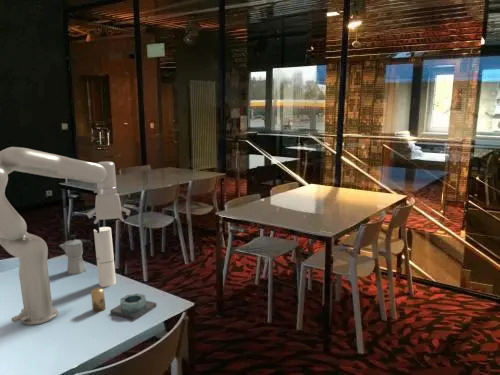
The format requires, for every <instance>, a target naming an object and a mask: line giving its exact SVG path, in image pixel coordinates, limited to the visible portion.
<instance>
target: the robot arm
mask: <svg viewBox="0 0 500 375" xmlns="http://www.w3.org/2000/svg"><path fill="white" fill-rule="evenodd" d="M14 171H15V172H21V173H28V174H31V175H32V174H33V175H38V176H43V177H50V178H58V179H69V180H77V181H82V182H85V183H93V184H96V188H95V189H93V193H94V194H95V193H96V196H95V203H94V204H95V208H94V209H93V210H90V211H88V212H87V213H86V215H87V217H88V219H89V220H90V221H91V222H92V223H93V224H94V229H95V231H97V233H99V231H100V230H99V228H100V222H99V221H101V220H113V219H114V220H115V219H119V220H120V231H121V232H124V229H125V222H126V220H127V219H128V218H129V216H130V214H131V210H130V209H128V208H125V207H123V206H122V204H121V198H120V195H119V193H117V192H118V189H117V179H116V178H117V177H116V166H115V162H113V161H99V162H89V161H85V160H80V159H76V158H71V157H68V156H63V155H59V154H55V153H49V152H45V151H41V150H36V149H32V148H27V147H19V146H10V147H7V148H5V149H2V150H0V246H1V247H2V248H3V249H4V250H5V251H6V252H7V253H8V254H10V255H11V256H13V257H15V258H16V259H19V266H18V277H19V278H18V279H19V282H20V283H19V284H20V290H21V291H20V292H21V298H22V305H23V308H22V309H21V310H20V313H18V315H15V316H13V317H11V322H12V323H13V324H15V323H16V322H18V321H20V322H21V324H23V325H28V326H29V325H30V326H33V325H40V324H44V323H47V322H50V321H51V320H53V319H55V318H56V317H57V316H58V314H59V313H58V312H59V311H58V308H56V307H54V306H53V300H52V298H53V297H52V291H51V284H50V283H51V282H50V275H49V268H48V267H49V265H48V257H49V256H48V254H49V248H48V245H47V242H46V241H45V240H44V239H43V238H42V237H40V236H38V235H35V234H32V233H30V232H28V231H27V229H28V227H27V226H28V225H27V223H26V221H25V219H24V218H23V216H21V215H20V214H19V212H18V211H17V210H16V209H15V208H14V206H12V204H11V203H10V202H9V200H8V198H7V197H6V193H5V192H6V187H7V185H8V181H9V176H8V175H9V174H11V173H13V172H14ZM122 212H125V215H124V216H123V214H122ZM94 214H95V217H93V215H94Z"/></svg>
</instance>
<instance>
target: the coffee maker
mask: <svg viewBox="0 0 500 375" xmlns="http://www.w3.org/2000/svg"><path fill="white" fill-rule="evenodd" d="M69 237H70V240H67V241H65V242H63V243H61V244H59V245H58V246H59V247H60V248H61V250H63V251H64V253H65V256H66V257H67V275H71V276H72V275H79V274H82V273H84V272H86V267H85V262H84V259H83V256H82V255H83V254H84V253H83V252H84V247H86V246H88V245H89V246H88V248H87V250H86V252H85V256H88V254H89V253H90V251H91V250H92V247H93V245H94V244H93V242H92V241H91V240H90V239H76V234H70V235H69Z"/></svg>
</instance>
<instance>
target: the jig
mask: <svg viewBox="0 0 500 375" xmlns="http://www.w3.org/2000/svg"><path fill="white" fill-rule="evenodd" d="M156 307H157V302H153V301H149V300H147V298H146V294H142V293H141V294H140V293H133V294H132V293H131V294H126V295H125V296H123V297H121V298H120V304H119V305H117V306H115V307H113V308H112V309H110V315H112V316H118V317H121V318H125V319H128V320H132V321H136V320H138V319H139V318H140V317H143V316H144V315H145V314H147V313H148V312H150V311H151V310H153V309H155V308H156Z"/></svg>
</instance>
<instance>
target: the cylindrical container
mask: <svg viewBox="0 0 500 375" xmlns="http://www.w3.org/2000/svg"><path fill="white" fill-rule="evenodd" d="M99 230H100V231H99V233H97V231H95V228H94V229H93V235H94V246H95V256H96V257H95V258H96V266H97V274H98V275H97V277H98V285H99V287H101V288H106V287H111V286H115V284H116V283H117V279H116V277H117V276H116V266H115V259H114V258H115V254H114V245H113V237H112V236H113V235H112V228H111V227H110V226H101V227H100V226H99Z"/></svg>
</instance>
